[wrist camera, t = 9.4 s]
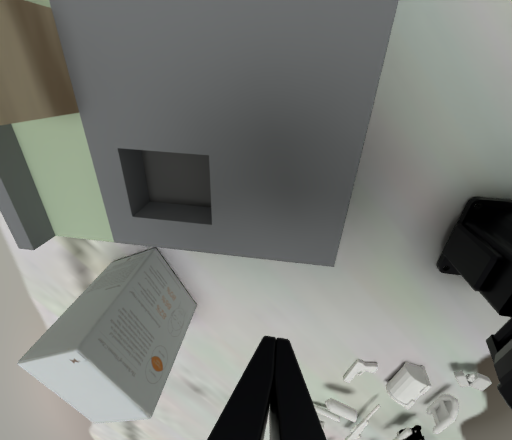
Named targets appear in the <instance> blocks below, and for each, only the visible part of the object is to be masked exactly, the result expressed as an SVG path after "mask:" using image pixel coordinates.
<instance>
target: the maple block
mask: <svg viewBox="0 0 512 440" xmlns="http://www.w3.org/2000/svg"><path fill="white" fill-rule="evenodd" d="M74 113H79V110H78V106H77V102H76V99H75V95H74V91H73V87H72V84H71V80H70V76H69V72H68V69H67V65H66V61H65V58H64V54H63V50H62V46H61V43H60V39H59V35H58V31H57V28H56V24H55V20H54V17H53V13H52V9H51V8H49V7H46V6H42V5H39V4H35V3H32V2H29V1H25V0H0V125H6V124H12V123H18V122H24V121H31V120H37V119H43V118H49V117H55V116H61V115H67V114H74Z"/></svg>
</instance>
